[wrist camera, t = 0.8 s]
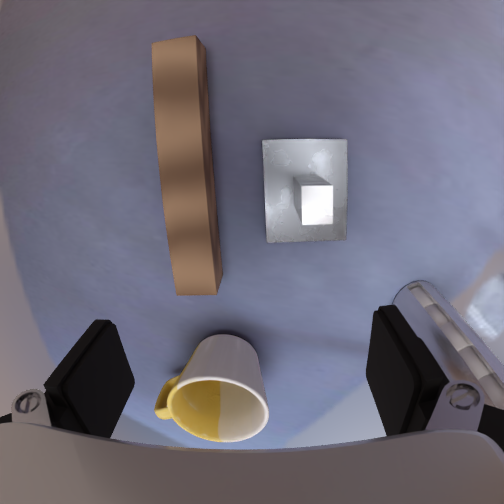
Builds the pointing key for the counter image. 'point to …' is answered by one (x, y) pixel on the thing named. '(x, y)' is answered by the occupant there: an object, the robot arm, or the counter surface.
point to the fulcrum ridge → (305, 189)
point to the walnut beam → (186, 164)
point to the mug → (217, 392)
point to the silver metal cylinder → (452, 340)
